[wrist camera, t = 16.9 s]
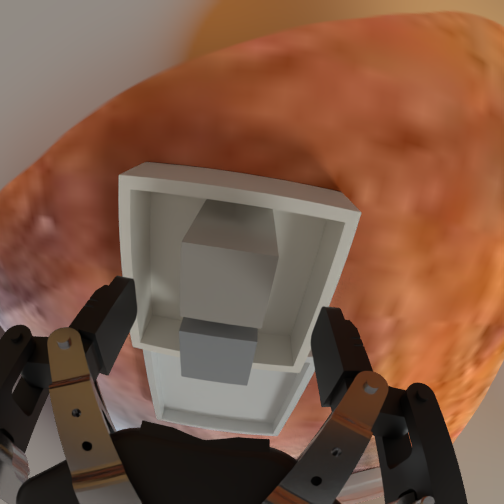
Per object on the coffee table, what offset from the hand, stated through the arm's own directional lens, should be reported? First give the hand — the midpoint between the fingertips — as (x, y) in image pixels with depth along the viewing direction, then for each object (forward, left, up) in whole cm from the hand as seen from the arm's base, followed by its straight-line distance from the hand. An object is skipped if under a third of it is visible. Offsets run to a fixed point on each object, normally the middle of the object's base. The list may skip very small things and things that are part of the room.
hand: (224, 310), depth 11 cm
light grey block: (0, 0, -7) cm, 7 cm away
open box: (-2, 0, -8) cm, 8 cm away
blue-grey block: (-5, 0, -7) cm, 8 cm away
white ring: (-64, -41, -8) cm, 76 cm away
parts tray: (-16, -1, -8) cm, 18 cm away
